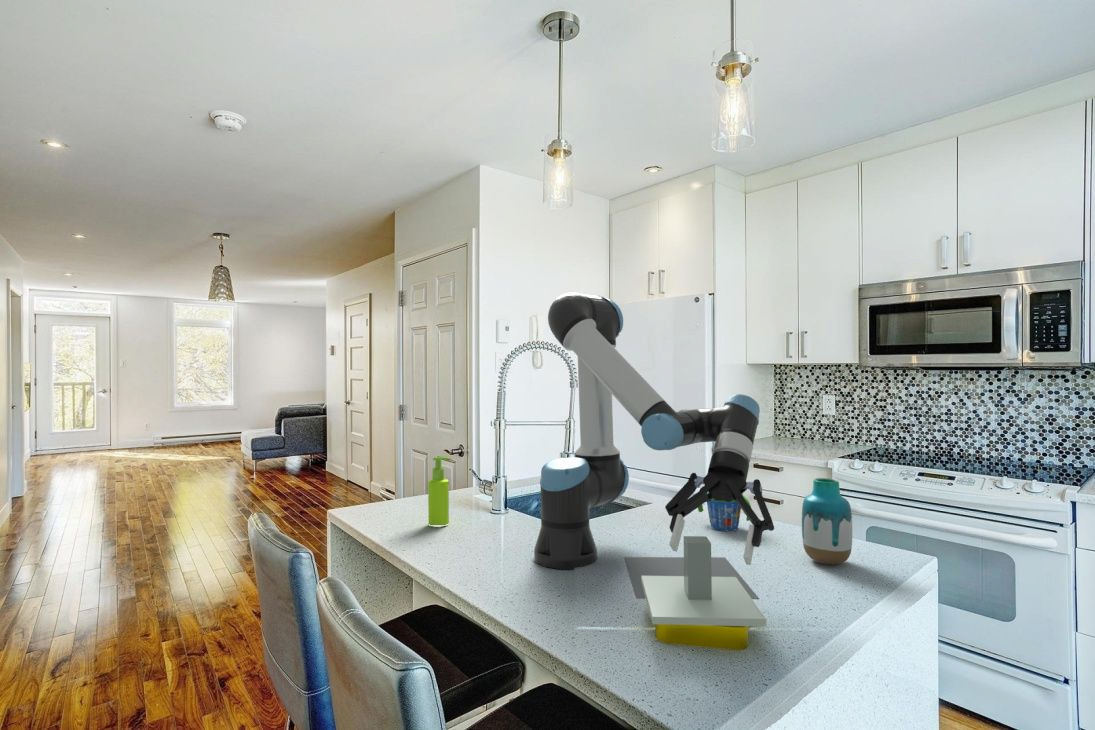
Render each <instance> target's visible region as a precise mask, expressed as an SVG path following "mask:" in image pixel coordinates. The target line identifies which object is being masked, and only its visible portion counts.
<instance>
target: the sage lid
mask: <svg viewBox="0 0 1095 730" xmlns="http://www.w3.org/2000/svg"><path fill="white" fill-rule="evenodd" d="M683 557H684V576H641V582H642V586H643V590H644V594H645V598H644V599H645V601H646V603H647V604H646V605H647V607H648V608H647V609H648V612H649V616H650V619H651V624H652V625H655V624H669V625H719V626H748V627H767V618H766V617H765V615H764V614H763V612H762V611H761V610H760V608H759V607H758V605H757V604H756V603H755V601H754V599H751V597H750V596H749V594H748V593H747V592H746V590H745V589H744V588H743V586H742V585H741V583H740V582H739V581H738V579H737V578H736V577H711V557H712V542H711V541H710V540H709V539H708V537H707V536H706V535H704V536H701V535H700V536H699V535H698V536H696V535H684V536H683Z"/></svg>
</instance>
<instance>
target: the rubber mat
mask: <svg viewBox="0 0 1095 730" xmlns="http://www.w3.org/2000/svg"><path fill="white" fill-rule="evenodd" d="M623 559H624V563H625V565H626V566H625V567H626V569H627V571H628V572H627V573H628V575H629V580H630V583H631V586H632V588H633V589H632V590H633V593H634V596H635V598H636V599H646V598H645V594H644V590H643V586H642V582H641V576H684V556H683V557H682V556H669V557H668V556H661V557H660V556H651V557H650V556H639V557H638V556H624V557H623ZM711 577H736V578H737V579H738V581H739V582H740V583H741V585H742V586H743V588H744V589H745V590H746V592H747V593H748V594H749V596H750V597H751V599H752V600H760V598H759V597H758V595H757V594H756V593H755V591H754V590H753V589H752V588H751V586H749V584H748V583H747V582H746V581H745V580H744V578H743V577H742V576H741V575H740V574H739V572H738V571H737V570H736V569H735V568H734V566H733V565H732V564H731V563H730V561H729V560H728V559H727V558H726V556H725V557H723V556H721V557H718V556H711Z"/></svg>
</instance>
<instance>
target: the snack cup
mask: <svg viewBox="0 0 1095 730" xmlns="http://www.w3.org/2000/svg"><path fill="white" fill-rule="evenodd" d="M708 493H709V492H707V494H708ZM742 496H743V497H744V499H745V500H746V501H747V503H748V504H749V506H750V507H751V508H752V506H751V503H750V501H749V500H748V498H747V497H745V496H744V493H742ZM703 505H704V504H702V505H701V506H699V507H698V508H697V511H698V512H699V513H702V512H704V507H703ZM706 505H707V506H706V507H707V511H708V518H709V524H710V527H711V529H714V530H717V531H725V532H731V531H735V530H738V528H739V526H740V525H739V524H740V517H741V511H742V509H741V507H740V506H739V505H738V504H737V502H736V501H735V500H733V501H731V502H726V501H723V500H722V501H716V500H715V499H711V500H710V501H709V502H706ZM746 521H747V522H749V521H750V520H749V519H748V517H747V516H746Z"/></svg>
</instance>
